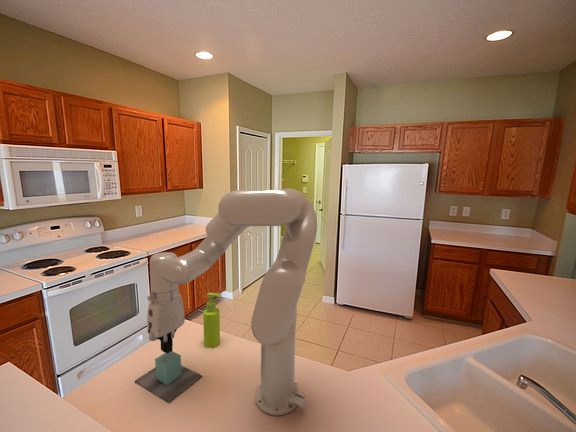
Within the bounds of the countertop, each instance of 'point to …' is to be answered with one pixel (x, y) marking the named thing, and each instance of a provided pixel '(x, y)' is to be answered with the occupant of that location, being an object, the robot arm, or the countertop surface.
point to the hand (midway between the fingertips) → (166, 350)
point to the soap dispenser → (211, 322)
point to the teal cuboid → (168, 367)
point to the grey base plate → (171, 389)
